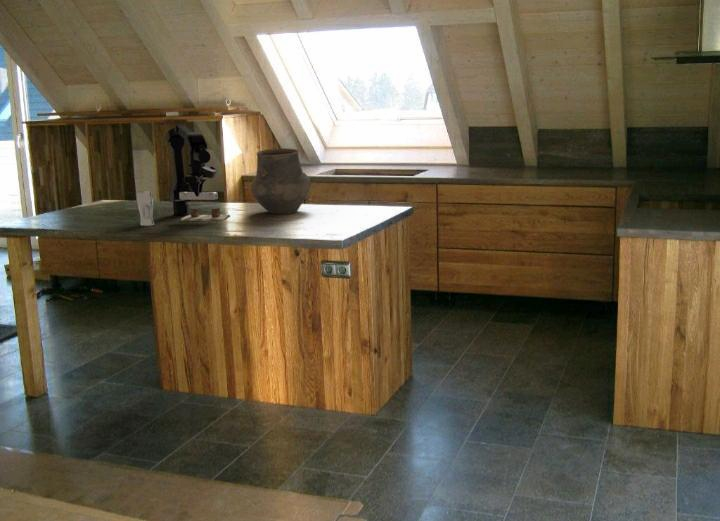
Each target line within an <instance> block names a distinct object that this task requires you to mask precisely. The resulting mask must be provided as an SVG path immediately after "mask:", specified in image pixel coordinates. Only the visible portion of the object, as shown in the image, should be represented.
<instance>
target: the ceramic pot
mask: <svg viewBox="0 0 720 521" xmlns="http://www.w3.org/2000/svg"><path fill="white" fill-rule="evenodd" d="M299 154H300V153H299V150H298V149H294V148H268V149H263V150H259V151H257V152H256V157H257V158H256V172H255V173H256V174H255V178H254V179H253V180H252V182H251V184H250V190H251V194H252V197H253V198H254V199H255V200H256V201H257V203H258V205H260V206H261V207H262V208H263V209H264V210H265V211H267V212H268V213H269V214H271V215H287V214H288V215H289V214H294V213H297V211H298V210H299V209H300V207H301V206H302V204H303V203H304V201H305V199H306V198H307V195H308V193H309V192H310V188H311V179H310V177H309V176H308V175H307V174H306V172H304V171H303V169H302V165H301V163H300V158H299Z"/></svg>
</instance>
